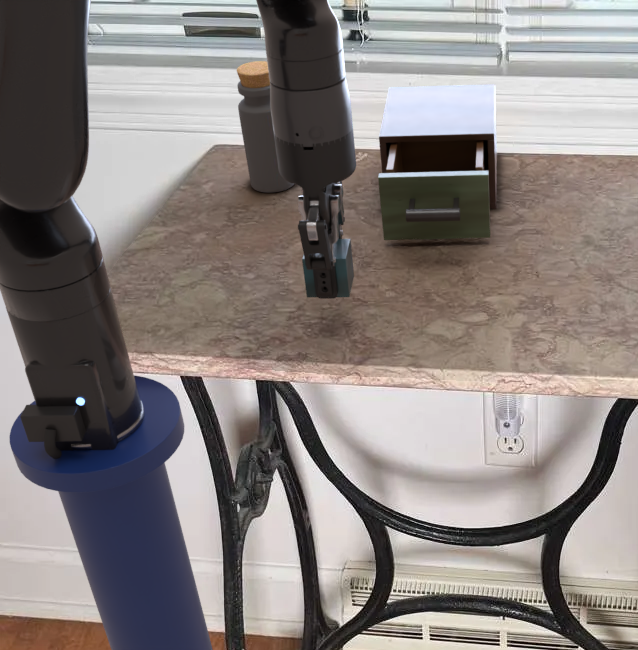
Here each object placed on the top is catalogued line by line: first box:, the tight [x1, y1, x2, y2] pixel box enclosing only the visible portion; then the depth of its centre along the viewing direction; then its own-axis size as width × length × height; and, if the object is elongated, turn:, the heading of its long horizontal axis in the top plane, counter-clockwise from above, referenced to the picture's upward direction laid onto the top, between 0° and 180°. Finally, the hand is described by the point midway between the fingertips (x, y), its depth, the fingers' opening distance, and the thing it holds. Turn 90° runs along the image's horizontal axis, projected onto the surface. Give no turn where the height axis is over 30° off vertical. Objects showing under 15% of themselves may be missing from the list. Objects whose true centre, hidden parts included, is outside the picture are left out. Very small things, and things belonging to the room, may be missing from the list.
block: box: [301, 238, 355, 298], centre depth 122 cm, size 4×4×4 cm
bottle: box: [236, 60, 295, 194], centre depth 148 cm, size 6×6×15 cm
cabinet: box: [378, 83, 498, 210], centre depth 148 cm, size 16×14×10 cm
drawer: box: [377, 140, 491, 241], centre depth 139 cm, size 19×12×8 cm, turn 179°
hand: (330, 284), depth 123 cm, fingers closed on block, 4 cm apart
